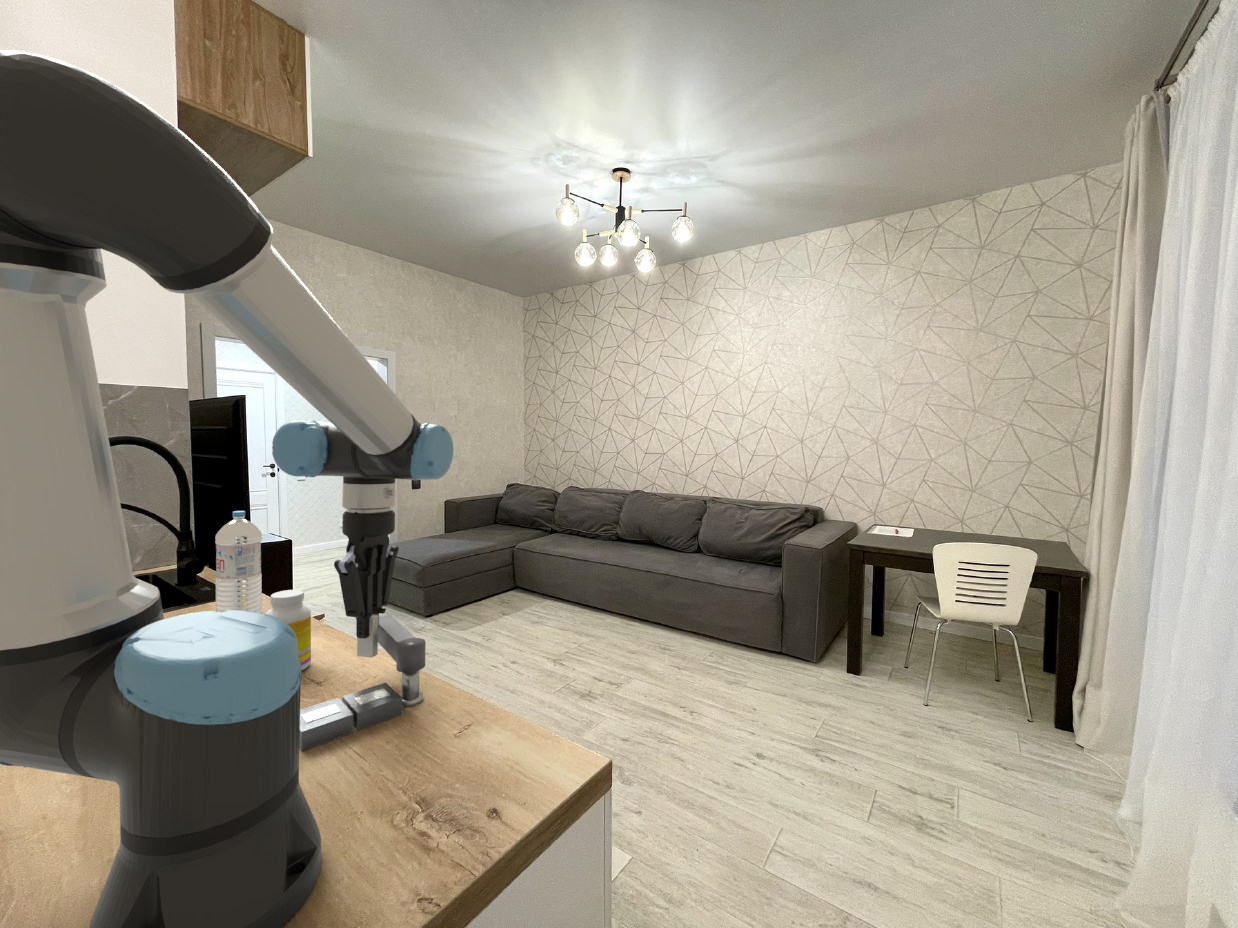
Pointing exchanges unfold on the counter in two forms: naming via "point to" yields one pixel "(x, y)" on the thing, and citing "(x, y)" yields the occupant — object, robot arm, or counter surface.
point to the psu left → (324, 723)
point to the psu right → (373, 705)
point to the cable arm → (401, 645)
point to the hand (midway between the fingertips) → (367, 655)
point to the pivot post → (411, 689)
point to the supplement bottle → (294, 620)
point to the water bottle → (238, 566)
